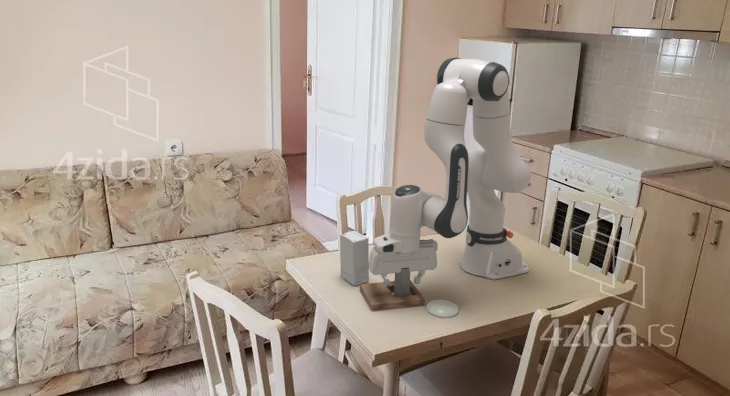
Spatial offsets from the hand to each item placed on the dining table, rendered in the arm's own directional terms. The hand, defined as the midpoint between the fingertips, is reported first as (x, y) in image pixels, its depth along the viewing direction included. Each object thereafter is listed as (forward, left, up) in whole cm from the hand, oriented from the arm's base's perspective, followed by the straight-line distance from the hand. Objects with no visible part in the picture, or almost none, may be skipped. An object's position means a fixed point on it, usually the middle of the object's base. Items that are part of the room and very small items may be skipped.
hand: (401, 284), depth 176 cm
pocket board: (+3, 0, -4) cm, 5 cm away
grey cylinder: (0, 0, -4) cm, 4 cm away
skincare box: (+11, -14, -4) cm, 18 cm away
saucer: (-9, +10, -4) cm, 14 cm away
